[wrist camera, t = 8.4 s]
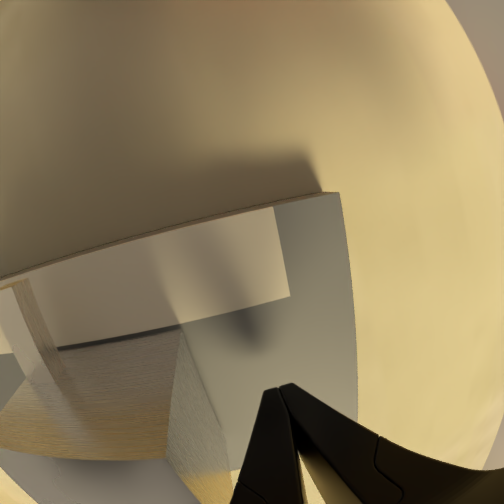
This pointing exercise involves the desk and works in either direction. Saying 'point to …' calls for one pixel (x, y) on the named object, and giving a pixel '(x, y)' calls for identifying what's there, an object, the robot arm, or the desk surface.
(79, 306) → the gauge board
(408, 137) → the desk surface
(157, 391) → the grey faceted block
